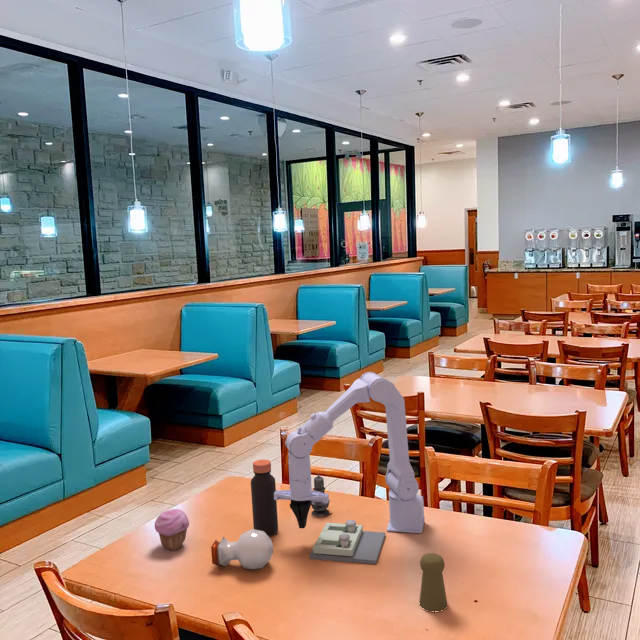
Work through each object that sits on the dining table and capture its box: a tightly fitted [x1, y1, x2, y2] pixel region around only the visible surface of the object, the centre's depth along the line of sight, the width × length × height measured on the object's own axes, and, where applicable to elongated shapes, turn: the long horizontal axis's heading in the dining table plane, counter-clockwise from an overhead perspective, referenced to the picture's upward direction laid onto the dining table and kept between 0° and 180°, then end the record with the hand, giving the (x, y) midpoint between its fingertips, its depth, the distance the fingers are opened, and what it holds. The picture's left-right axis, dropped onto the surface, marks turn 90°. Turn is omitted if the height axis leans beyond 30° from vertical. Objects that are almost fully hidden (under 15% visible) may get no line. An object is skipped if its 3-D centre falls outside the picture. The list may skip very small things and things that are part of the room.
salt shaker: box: [311, 473, 331, 518], centre depth 182 cm, size 6×6×12 cm
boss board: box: [308, 519, 386, 565], centre depth 161 cm, size 17×15×5 cm
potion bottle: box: [210, 528, 274, 571], centre depth 153 cm, size 9×10×15 cm
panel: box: [312, 522, 364, 556], centre depth 162 cm, size 10×14×2 cm
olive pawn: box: [419, 552, 448, 613], centre depth 133 cm, size 6×6×11 cm
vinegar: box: [250, 459, 279, 537], centre depth 171 cm, size 7×7×20 cm
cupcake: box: [154, 508, 190, 551], centre depth 166 cm, size 9×9×10 cm
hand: (302, 526), depth 164 cm, fingers closed
